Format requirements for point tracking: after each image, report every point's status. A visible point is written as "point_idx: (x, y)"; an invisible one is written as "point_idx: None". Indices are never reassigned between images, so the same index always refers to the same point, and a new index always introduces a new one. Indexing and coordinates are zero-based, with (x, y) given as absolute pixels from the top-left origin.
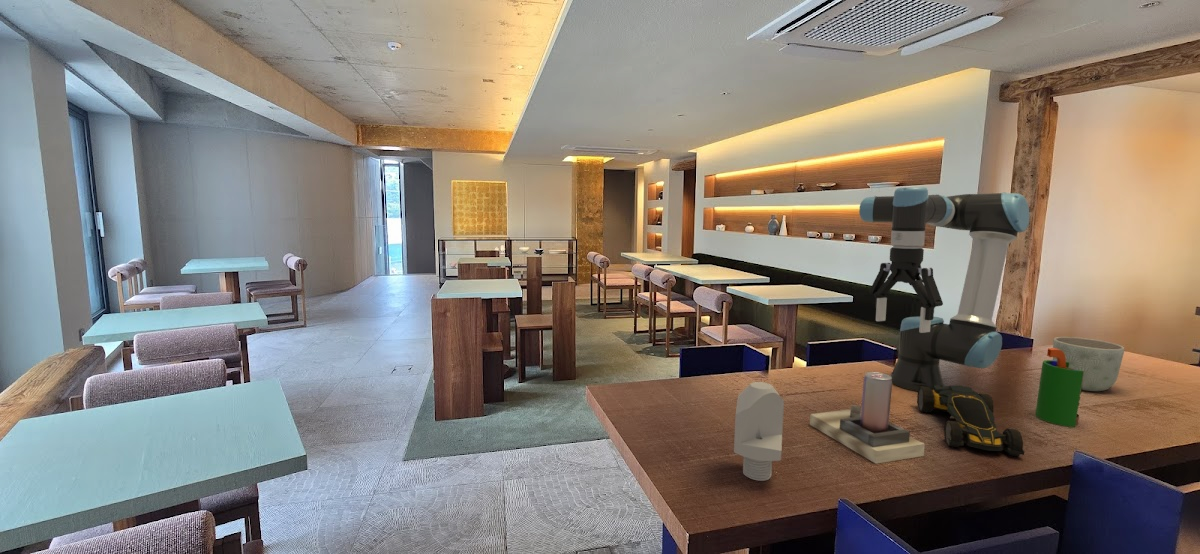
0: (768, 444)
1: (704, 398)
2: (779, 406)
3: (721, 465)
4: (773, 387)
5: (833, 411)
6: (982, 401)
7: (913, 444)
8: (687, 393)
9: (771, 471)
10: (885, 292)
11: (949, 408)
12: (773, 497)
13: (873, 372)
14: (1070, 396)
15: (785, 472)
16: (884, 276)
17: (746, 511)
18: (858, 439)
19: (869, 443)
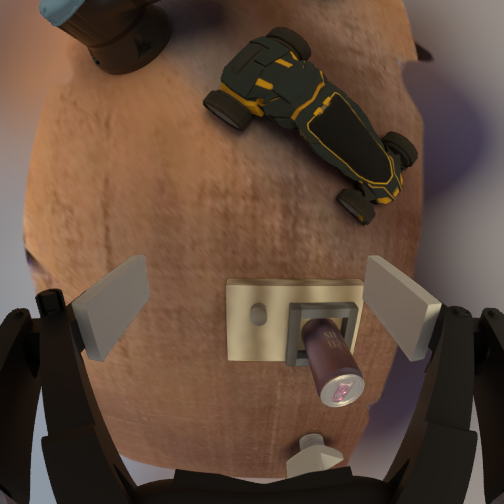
0: (329, 463)
1: (127, 401)
2: None
3: (286, 451)
4: None
5: (227, 324)
6: (337, 91)
7: (360, 301)
8: (112, 405)
9: (319, 436)
10: (75, 348)
11: (321, 155)
12: (341, 439)
13: (325, 387)
14: None
15: (318, 423)
16: (5, 440)
17: (344, 453)
18: None
19: None
